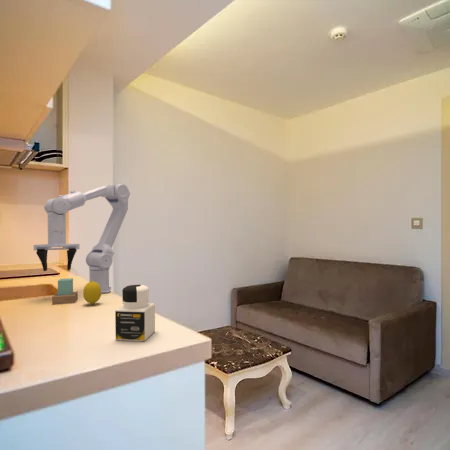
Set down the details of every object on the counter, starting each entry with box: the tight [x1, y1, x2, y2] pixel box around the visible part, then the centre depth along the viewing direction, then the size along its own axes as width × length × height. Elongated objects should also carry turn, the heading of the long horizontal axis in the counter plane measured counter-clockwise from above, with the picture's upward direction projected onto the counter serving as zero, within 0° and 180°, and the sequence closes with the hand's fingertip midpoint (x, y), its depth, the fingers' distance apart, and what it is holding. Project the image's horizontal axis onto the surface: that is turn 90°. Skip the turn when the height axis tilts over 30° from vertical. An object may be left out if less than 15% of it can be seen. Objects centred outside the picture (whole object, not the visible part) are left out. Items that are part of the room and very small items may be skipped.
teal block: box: [57, 278, 74, 295], centre depth 115 cm, size 4×4×5 cm
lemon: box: [82, 281, 102, 306], centre depth 110 cm, size 6×6×8 cm
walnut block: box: [51, 291, 79, 306], centre depth 115 cm, size 7×7×3 cm
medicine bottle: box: [114, 284, 156, 342], centre depth 79 cm, size 7×7×12 cm
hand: (57, 270), depth 118 cm, fingers open, 7 cm apart
